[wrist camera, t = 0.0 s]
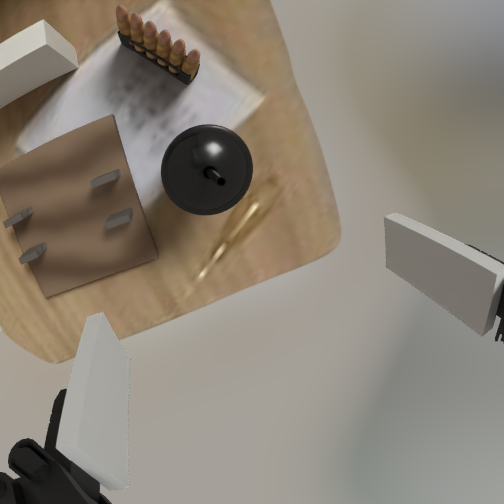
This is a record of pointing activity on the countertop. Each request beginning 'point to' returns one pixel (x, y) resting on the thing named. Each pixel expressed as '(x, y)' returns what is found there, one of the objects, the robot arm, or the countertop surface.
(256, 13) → the countertop surface
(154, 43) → the ammunition clip
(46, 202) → the clip board
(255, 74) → the countertop surface
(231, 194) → the drinking cup
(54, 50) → the door panel
